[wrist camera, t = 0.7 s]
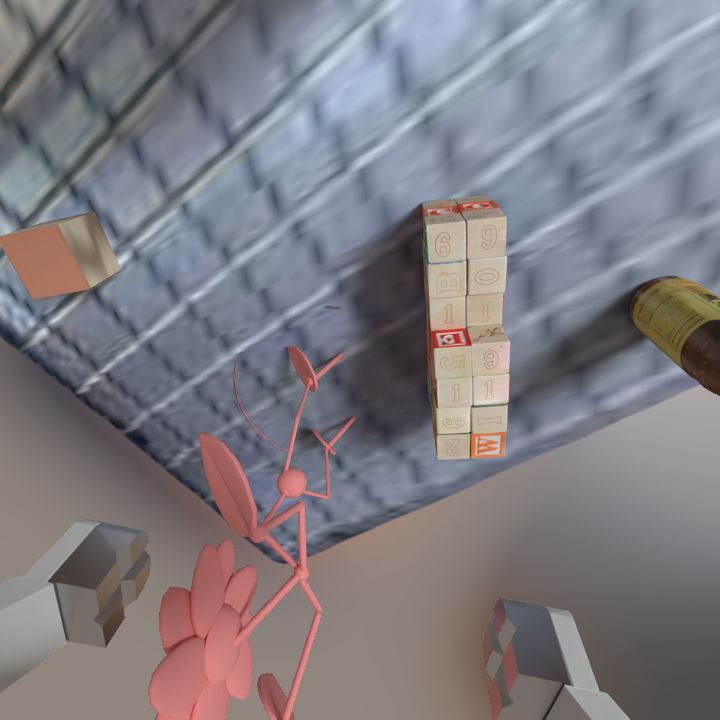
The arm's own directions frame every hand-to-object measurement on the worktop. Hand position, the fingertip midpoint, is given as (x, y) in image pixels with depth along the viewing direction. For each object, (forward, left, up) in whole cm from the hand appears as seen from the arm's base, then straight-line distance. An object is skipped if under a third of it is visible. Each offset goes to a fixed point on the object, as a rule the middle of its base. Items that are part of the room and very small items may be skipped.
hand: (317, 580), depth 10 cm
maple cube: (-3, -30, -37) cm, 48 cm away
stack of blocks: (+10, +7, -38) cm, 39 cm away
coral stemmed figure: (+18, -13, -37) cm, 44 cm away
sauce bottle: (+13, +27, -37) cm, 48 cm away
